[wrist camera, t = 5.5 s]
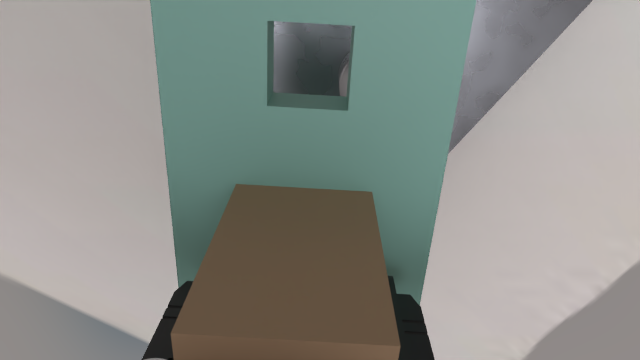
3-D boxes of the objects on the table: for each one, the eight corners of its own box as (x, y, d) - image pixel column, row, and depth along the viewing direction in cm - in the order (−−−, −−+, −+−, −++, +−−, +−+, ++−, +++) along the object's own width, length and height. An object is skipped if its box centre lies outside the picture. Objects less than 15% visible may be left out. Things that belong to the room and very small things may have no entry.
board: (166, -47, 12) (-45, -65, 5) (464, -30, 12) (635, -26, 5) (203, 414, 20) (137, 648, 13) (386, 424, 20) (416, 663, 13)
